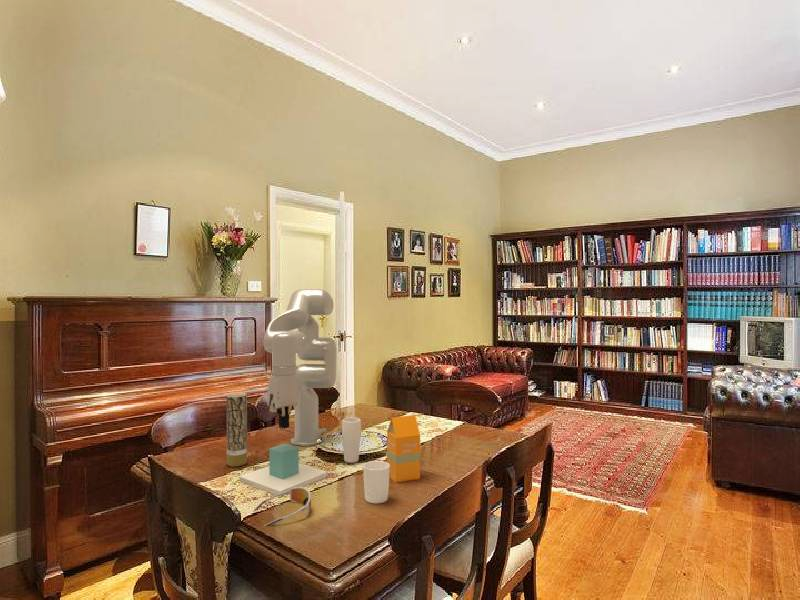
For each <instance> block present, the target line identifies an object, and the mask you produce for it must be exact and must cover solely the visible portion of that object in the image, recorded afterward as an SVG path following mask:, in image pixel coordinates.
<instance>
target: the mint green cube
mask: <svg viewBox="0 0 800 600" xmlns="http://www.w3.org/2000/svg"><path fill="white" fill-rule="evenodd" d="M299 449H300V448H299V446H297V445H293V444H288V443H283V444H280V445H278V446H273V447H270V448H269V450H268V452H269V456H268V457H269V458H268V459H269V464H268V466H269V475H271V476H274V477H277V478H280V479H285V478H288V477H291V476H293V475H296V474H298V473H299V462H300V455H299V453H300V452H299Z"/></svg>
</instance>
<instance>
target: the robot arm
mask: <svg viewBox="0 0 800 600" xmlns="http://www.w3.org/2000/svg"><path fill="white" fill-rule="evenodd" d="M333 310H334V300H333V296H332V295H331V294H330V293H329V292H328V291H327V290H325V289H321V288H300V289H296V290H295V291H293V292H292V294H291V295H290V299H289V302H288V305H287V308H286V311H284V312H283V313H281V314H279V315H278V316H276V317H275V318H273V319H272V320H271V321H270V322H269V323H268V325H267V327H266V330H265V333H264V336H263V342H262V345H263V348H264V350H265V352H267V353H270V354H271V355H272V356H271V357H272V358H271V360H272V361H271V363H272V364H271V371H272V372H271V373H272V374H271V375H270V377H269V380H268V385H267V393H266V395H267V396H266V404H267V407H269V412H272V413H276V416H278V427H279V428H281V429H284V430H285V429H287V428H288V429H289V428H290V416H291V415H292V411H293V410H294V436H293V437H292V438H291V439H290V444H291V445H293V446H297V447H299V446H300V447H303V446H304V447H308V446H309V447H310V446H315V445H318V444H317V440H318V439H320V438H321V437H322V434H324V433H327V428H326V427H322V428H319V395H318V394H317V393H316V391H315V390H314V389H315V388H316V389H317V388H319V389H321V388H322V389H323V388H324V389H328V388H333V387H334V386H335V384H336V382H337V381H336V380H337V344H336V341H335V339H333V338H332V337H320V335H319V333H320V328H319V327H320V326H319V324H318V322H317V320H316V319H315V317H313V316H329V315H331V314H332V313H333ZM296 329H297V330H296ZM297 357H298V360H299V359H300V360H301V361H307V362H310V361H311V362H312V361H313V362H317V361H318V362H324V363H321V364H320V363H302V364H297V362H296V361H297Z"/></svg>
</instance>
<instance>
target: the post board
mask: <svg viewBox="0 0 800 600" xmlns="http://www.w3.org/2000/svg"><path fill="white" fill-rule="evenodd" d="M328 476H329V471H326V470H322V469H319V468H316V467H314V466H310V465H306V464H303V463H299V473H298V474H296V475H293V476H291V477H288V478H285V479H280V478H277V477H274V476H271V475H269V465H268V466H265V467H263V468H262V467H261V468H259V469H256V470H253V471H250V472H248V473H244V474H243V475H242V474H241V475H240V476H239V477H238V481H239V482H241V483H244V484H247V485H248V486H251V487H255V488H257V489H259V490H261V491H265V492H267V493H270V494H273V495H276V494H279V493H281V492H284V491H287V490H290V489H291V488H294V487H304V488H305V487H306V486H309V485H312V483H315V482H317V481H320V480H323V479H325V478H328ZM282 496H283V495H280V496H279V497H282Z"/></svg>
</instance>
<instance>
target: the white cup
mask: <svg viewBox="0 0 800 600" xmlns="http://www.w3.org/2000/svg"><path fill="white" fill-rule="evenodd" d="M362 468H363V469H362V470H363V471H362V472H363V487H364V488H363V489H364V500H365V501H366V502H367V503H370V504H382V503H385V502H387V501H388V499H389V487H390V477H389V473H390V464H389V463H387V461H385V460H370V461H368V462H365V463H363V465H362Z"/></svg>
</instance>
